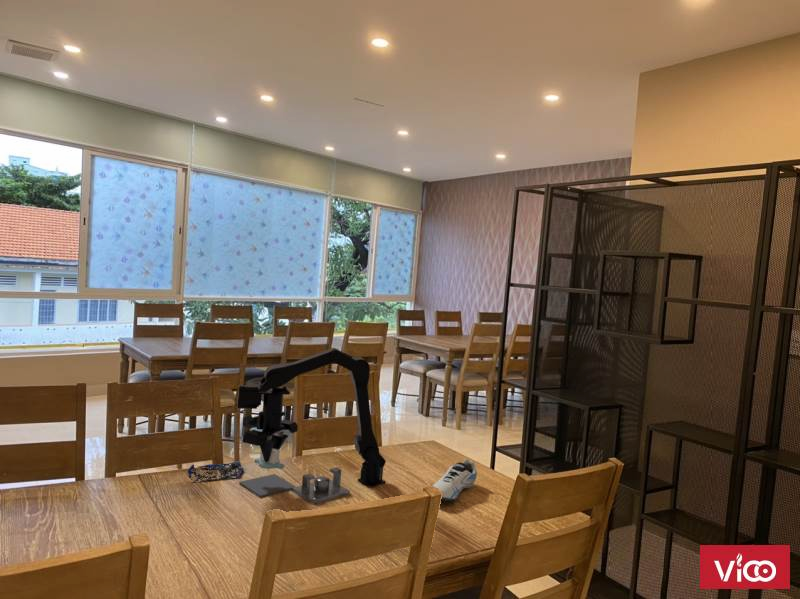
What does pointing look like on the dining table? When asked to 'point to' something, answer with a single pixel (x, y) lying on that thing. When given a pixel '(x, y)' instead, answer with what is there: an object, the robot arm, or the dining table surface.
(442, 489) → the running shoe
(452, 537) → the dining table surface
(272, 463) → the cap
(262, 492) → the mat
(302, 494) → the grey plate with upright
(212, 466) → the dark blue patterned slab
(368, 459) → the robot arm
